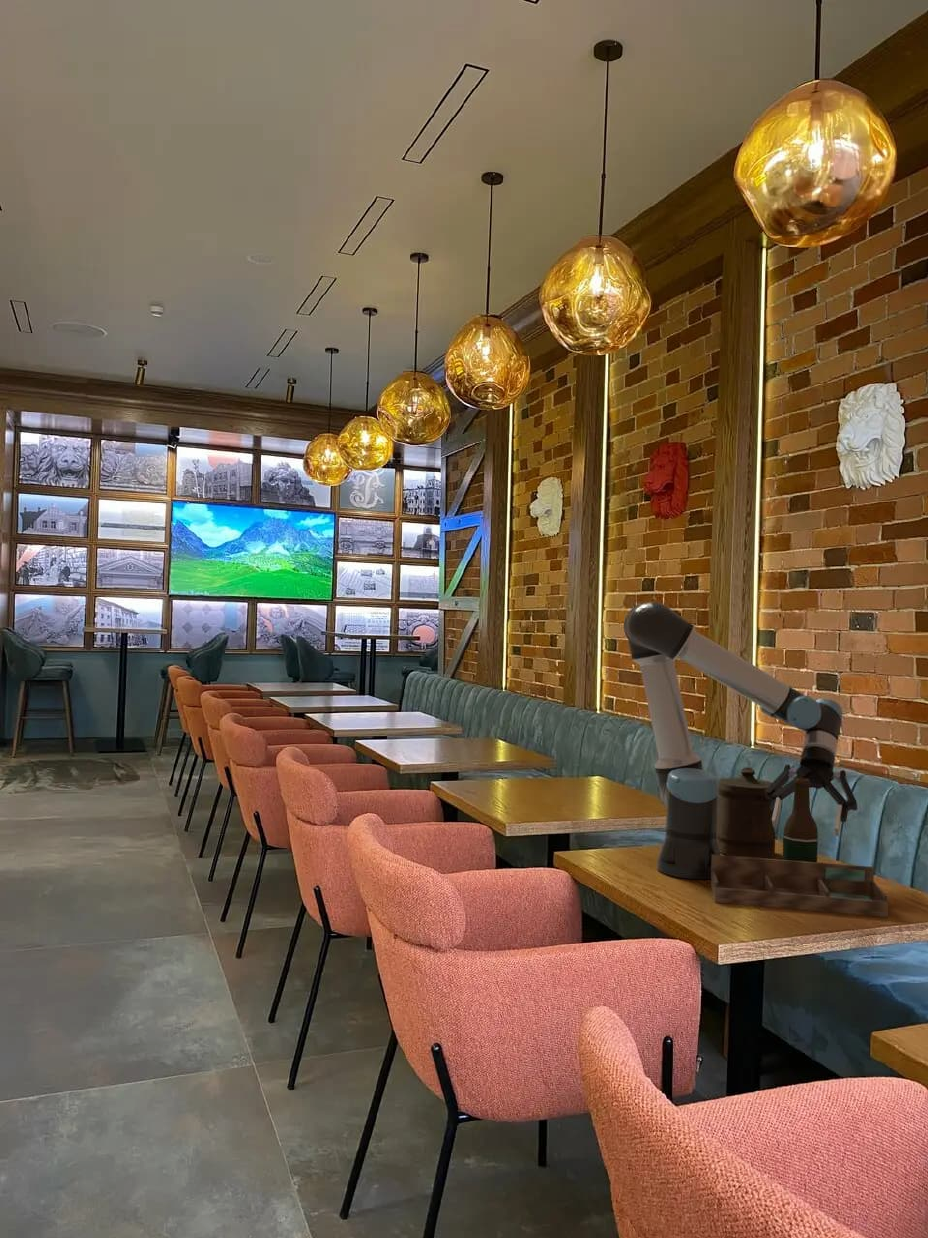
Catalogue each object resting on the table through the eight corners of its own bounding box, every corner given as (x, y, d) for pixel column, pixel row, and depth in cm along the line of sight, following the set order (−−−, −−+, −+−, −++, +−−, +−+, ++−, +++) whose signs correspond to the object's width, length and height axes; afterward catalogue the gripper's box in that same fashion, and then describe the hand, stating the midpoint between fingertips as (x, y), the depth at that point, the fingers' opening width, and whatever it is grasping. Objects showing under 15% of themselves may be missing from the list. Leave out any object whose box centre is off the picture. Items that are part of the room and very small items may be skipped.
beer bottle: (776, 879, 216) (779, 775, 216) (810, 880, 216) (813, 776, 216) (787, 888, 209) (790, 781, 209) (822, 890, 208) (825, 782, 208)
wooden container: (787, 857, 238) (790, 771, 239) (740, 861, 233) (742, 772, 233) (749, 844, 252) (751, 762, 252) (703, 847, 247) (706, 764, 247)
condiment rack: (714, 902, 196) (715, 869, 196) (710, 886, 209) (711, 854, 209) (887, 917, 189) (888, 882, 190) (872, 899, 202) (873, 867, 202)
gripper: (875, 769, 221) (865, 845, 208) (767, 759, 234) (751, 830, 221) (873, 749, 217) (862, 825, 204) (763, 740, 229) (746, 811, 216)
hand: (804, 828), depth 212 cm, fingers open, 13 cm apart
